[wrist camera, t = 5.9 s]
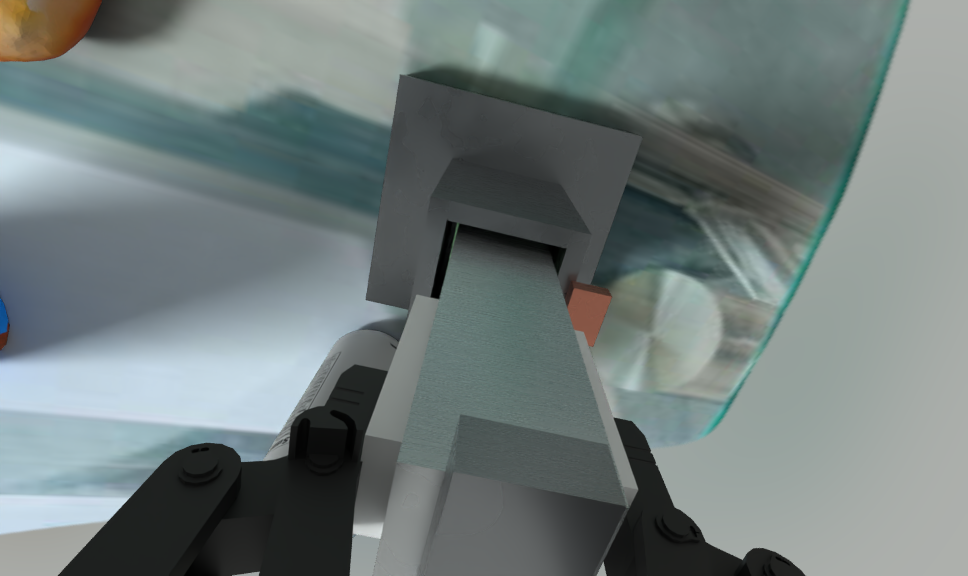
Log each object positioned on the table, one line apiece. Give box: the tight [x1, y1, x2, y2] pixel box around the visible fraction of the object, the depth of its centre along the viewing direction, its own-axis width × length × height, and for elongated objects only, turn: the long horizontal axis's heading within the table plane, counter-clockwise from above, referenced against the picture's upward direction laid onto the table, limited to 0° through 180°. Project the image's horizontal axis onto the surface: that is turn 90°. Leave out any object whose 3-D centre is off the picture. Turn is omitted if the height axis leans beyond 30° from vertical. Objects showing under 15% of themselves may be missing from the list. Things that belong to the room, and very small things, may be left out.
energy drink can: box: [263, 330, 399, 538], centre depth 29 cm, size 6×6×15 cm
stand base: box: [366, 75, 643, 347], centre depth 26 cm, size 14×14×13 cm
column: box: [373, 223, 629, 576], centre depth 17 cm, size 6×4×21 cm, turn 167°
